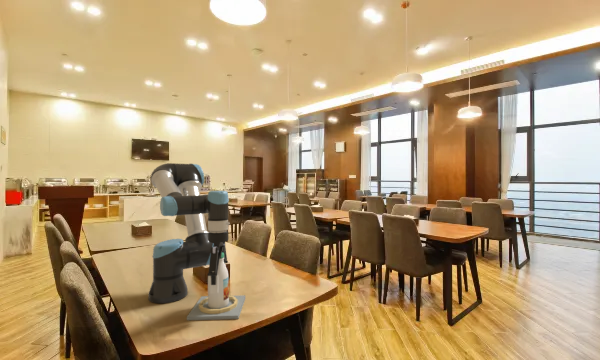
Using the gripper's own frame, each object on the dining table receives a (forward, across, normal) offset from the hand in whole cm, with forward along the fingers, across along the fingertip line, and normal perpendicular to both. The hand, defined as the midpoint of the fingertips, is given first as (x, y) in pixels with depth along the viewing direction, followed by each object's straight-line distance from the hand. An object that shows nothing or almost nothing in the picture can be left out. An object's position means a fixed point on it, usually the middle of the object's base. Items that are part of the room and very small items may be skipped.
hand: (218, 286), depth 112 cm
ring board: (+8, 0, 0) cm, 8 cm away
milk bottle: (+8, 0, 0) cm, 8 cm away
